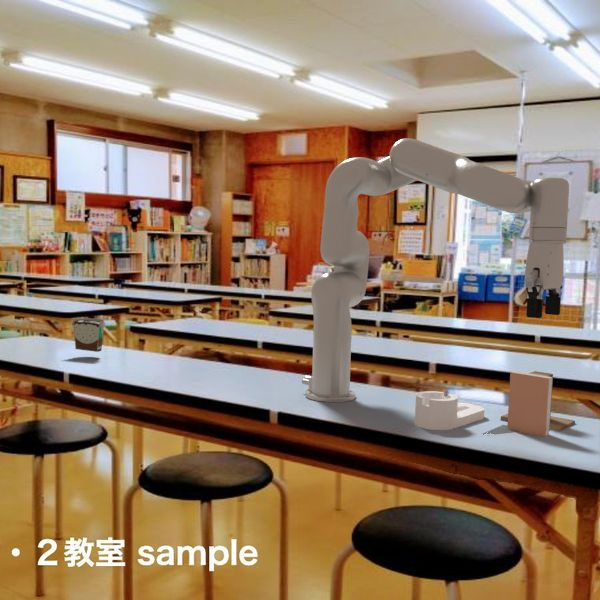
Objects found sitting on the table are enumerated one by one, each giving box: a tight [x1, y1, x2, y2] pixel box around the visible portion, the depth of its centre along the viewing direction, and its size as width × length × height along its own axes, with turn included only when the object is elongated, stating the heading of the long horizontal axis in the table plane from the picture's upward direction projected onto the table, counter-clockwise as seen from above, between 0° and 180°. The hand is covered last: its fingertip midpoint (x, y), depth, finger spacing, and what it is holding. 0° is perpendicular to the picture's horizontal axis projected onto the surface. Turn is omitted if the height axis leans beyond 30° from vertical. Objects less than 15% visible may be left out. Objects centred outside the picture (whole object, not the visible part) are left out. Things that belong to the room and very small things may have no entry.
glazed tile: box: [507, 370, 553, 437], centre depth 139 cm, size 8×2×12 cm, turn 49°
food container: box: [71, 317, 107, 353], centre depth 226 cm, size 12×6×10 cm, turn 65°
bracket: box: [414, 390, 485, 431], centre depth 148 cm, size 20×9×7 cm, turn 136°
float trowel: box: [500, 370, 576, 432], centre depth 148 cm, size 9×13×11 cm
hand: (543, 315), depth 146 cm, fingers open, 9 cm apart
